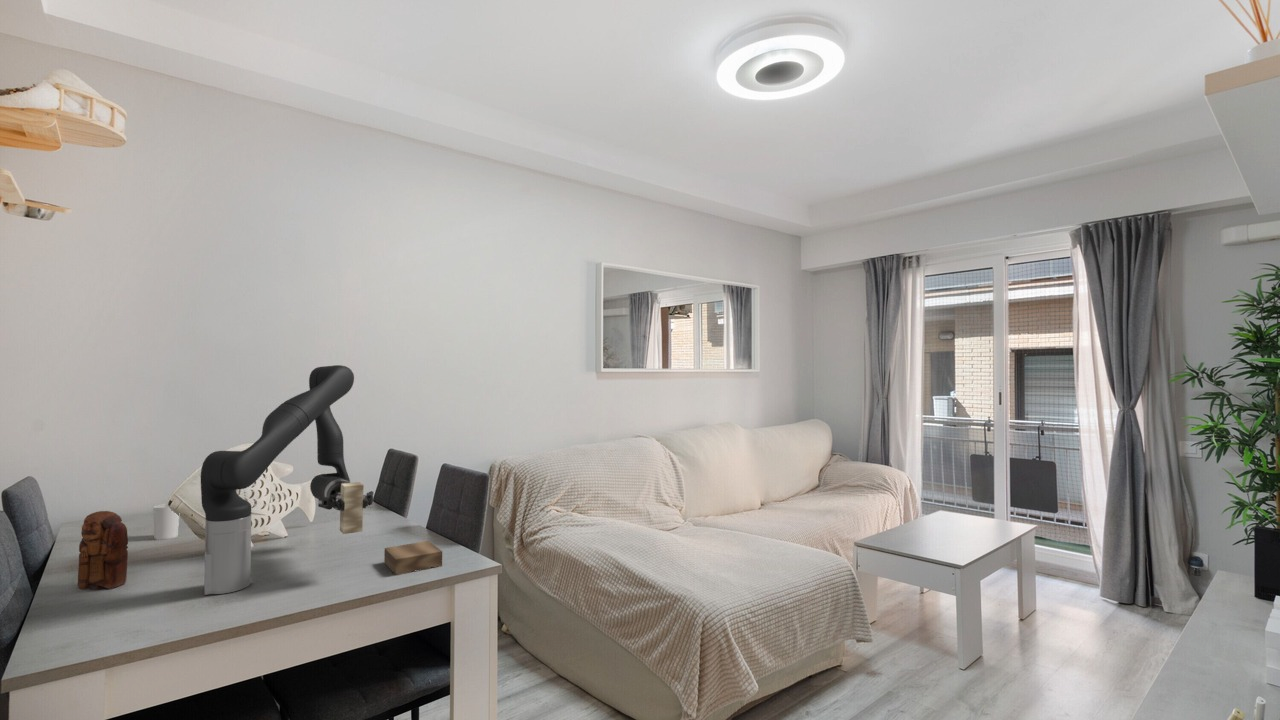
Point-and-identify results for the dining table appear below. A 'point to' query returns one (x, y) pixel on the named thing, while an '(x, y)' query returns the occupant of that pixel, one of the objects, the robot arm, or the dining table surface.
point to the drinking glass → (165, 522)
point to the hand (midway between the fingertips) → (354, 505)
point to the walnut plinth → (412, 557)
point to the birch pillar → (352, 508)
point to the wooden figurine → (103, 551)
